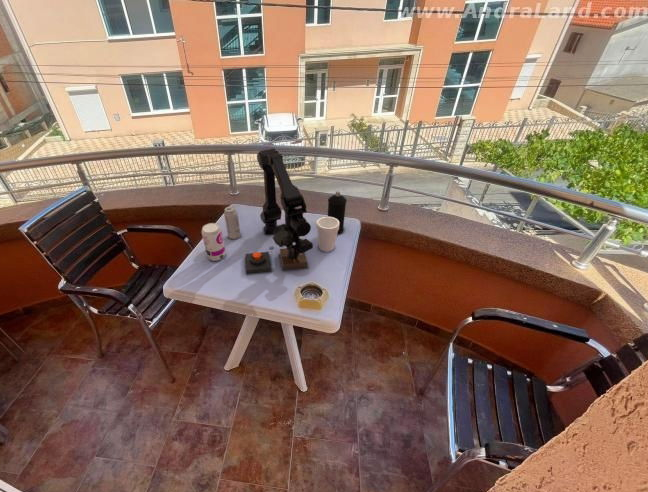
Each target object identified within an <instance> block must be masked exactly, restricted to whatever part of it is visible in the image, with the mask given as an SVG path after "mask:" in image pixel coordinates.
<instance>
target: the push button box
mask: <svg viewBox="0 0 648 492" xmlns="http://www.w3.org/2000/svg"><path fill="white" fill-rule="evenodd" d="M259 252H260V251H259ZM254 253H255V252H251V253H245V269H246V275H251V274H260V273H261V274H262V273H271V272H272V267H271V259H270V252H269V251H261V252H260V253H261V255H262V258H261V260H254V259H253V254H254Z"/></svg>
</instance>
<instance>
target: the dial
mask: <svg viewBox="0 0 648 492" xmlns="http://www.w3.org/2000/svg"><path fill="white" fill-rule="evenodd" d="M294 245H295V244H293V245H290V246H289V247H288V256H289V257H290V258H296V257H295V254H294V249H293V248H292V246H294Z"/></svg>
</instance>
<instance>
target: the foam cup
mask: <svg viewBox="0 0 648 492" xmlns="http://www.w3.org/2000/svg"><path fill="white" fill-rule="evenodd" d="M316 230H317V237H318V238H317V240H318V247H319V250H320V251H322V252H325V253H326V252H327V253H329V252H332V251H333V250H334V248H335V245H336V240H337V236H338V234H337V233H338V230H339V221H338V219H336V218H334V217H328V216H323V217H320V218H318V219H317V220H316Z"/></svg>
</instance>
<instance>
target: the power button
mask: <svg viewBox="0 0 648 492" xmlns="http://www.w3.org/2000/svg"><path fill="white" fill-rule="evenodd" d="M253 253H254V254H253V259H254V260H261V258H262V255H261V253H260V251H255V252H253Z"/></svg>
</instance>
